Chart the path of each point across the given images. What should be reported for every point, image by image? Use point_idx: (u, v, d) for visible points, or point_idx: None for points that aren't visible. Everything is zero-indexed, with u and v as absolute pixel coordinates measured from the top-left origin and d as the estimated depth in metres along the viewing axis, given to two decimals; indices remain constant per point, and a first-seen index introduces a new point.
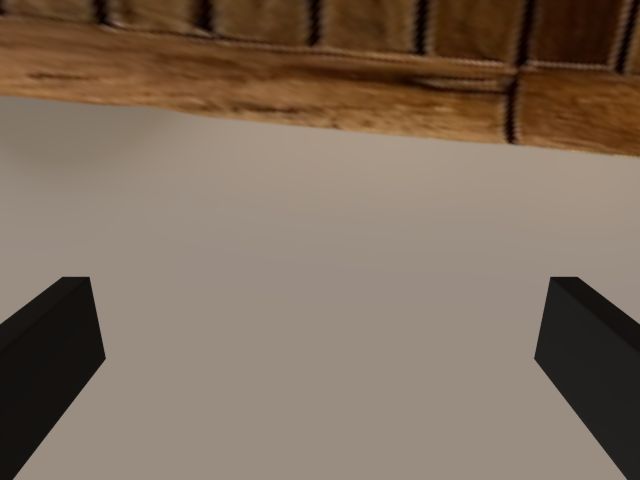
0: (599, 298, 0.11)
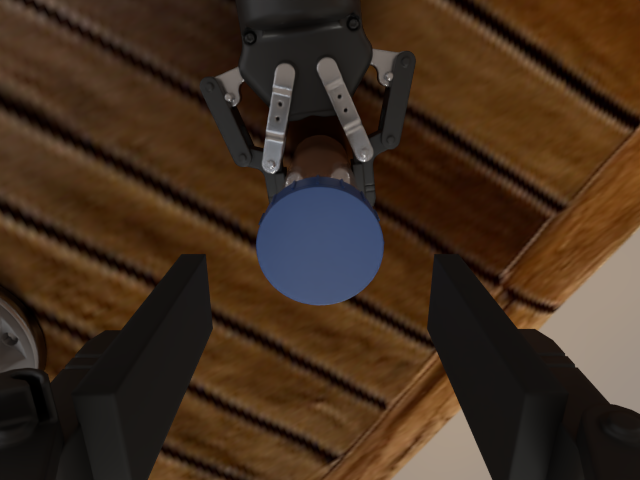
0: (466, 270, 0.13)
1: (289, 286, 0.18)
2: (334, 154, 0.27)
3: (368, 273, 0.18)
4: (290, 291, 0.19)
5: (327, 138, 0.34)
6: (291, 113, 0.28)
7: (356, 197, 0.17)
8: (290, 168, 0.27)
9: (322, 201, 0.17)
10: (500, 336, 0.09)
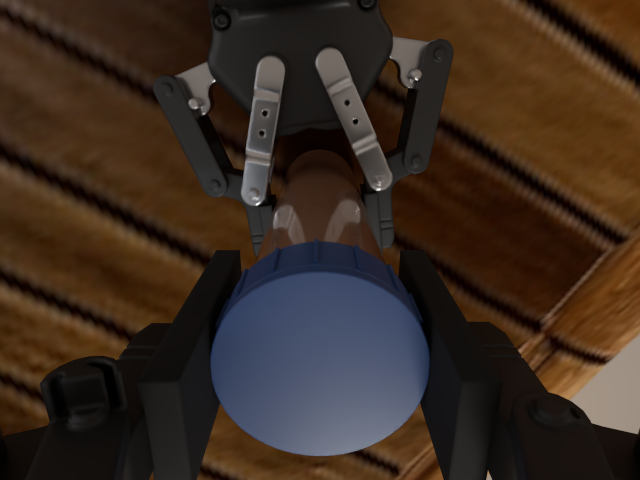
0: (428, 266, 0.13)
1: (268, 428, 0.11)
2: (339, 182, 0.20)
3: (402, 409, 0.11)
4: (270, 436, 0.11)
5: (329, 155, 0.26)
6: (280, 125, 0.20)
7: (385, 289, 0.10)
8: (278, 203, 0.19)
9: (324, 296, 0.10)
10: (448, 328, 0.10)
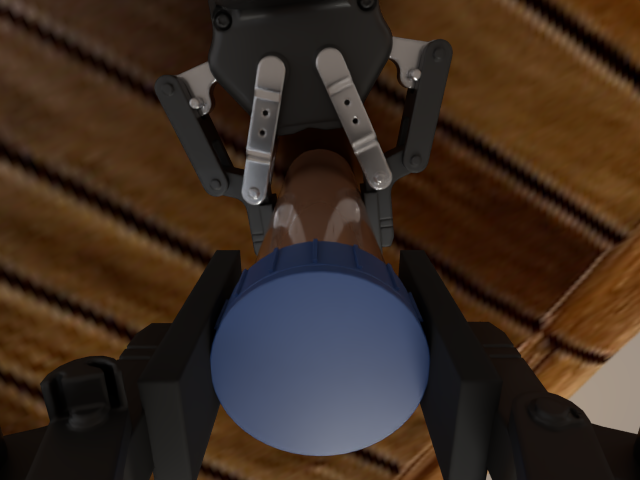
0: (427, 266, 0.13)
1: (389, 414, 0.11)
2: (339, 181, 0.20)
3: (369, 294, 0.10)
4: (399, 414, 0.11)
5: (329, 154, 0.27)
6: (281, 125, 0.20)
7: (224, 318, 0.10)
8: (279, 202, 0.19)
9: (235, 368, 0.10)
10: (448, 328, 0.10)
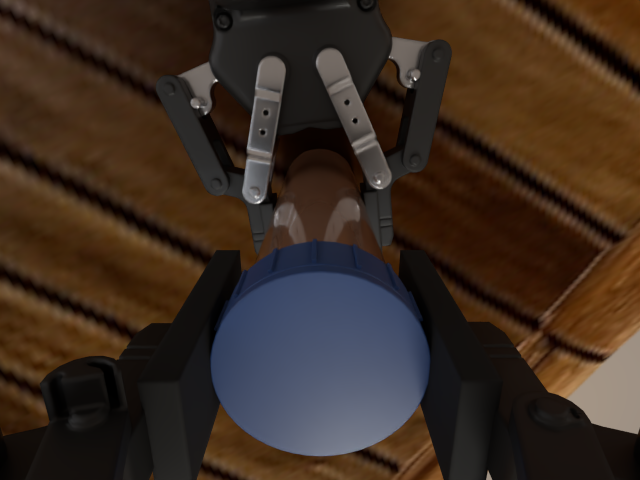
0: (428, 266, 0.13)
1: (376, 307, 0.10)
2: (339, 180, 0.20)
3: (230, 332, 0.10)
4: (375, 298, 0.10)
5: (329, 154, 0.27)
6: (281, 124, 0.21)
7: (265, 442, 0.11)
8: (279, 201, 0.19)
9: (317, 438, 0.11)
10: (448, 328, 0.10)
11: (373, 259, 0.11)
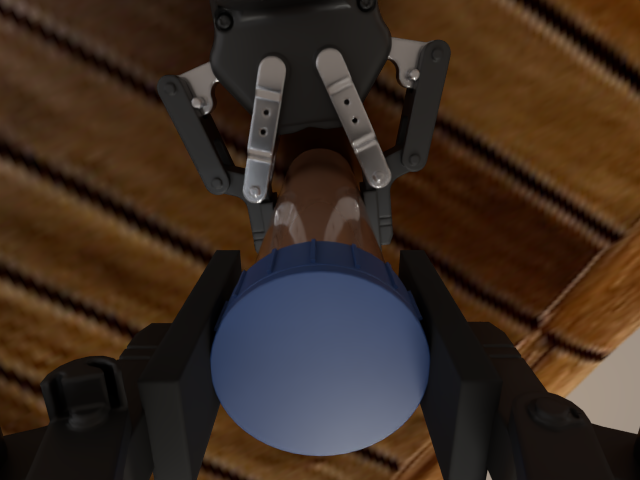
0: (427, 266, 0.13)
1: (243, 326, 0.10)
2: (339, 180, 0.20)
3: (278, 439, 0.11)
4: (233, 328, 0.10)
5: (329, 153, 0.27)
6: (281, 124, 0.21)
7: (408, 416, 0.11)
8: (279, 200, 0.19)
9: (404, 373, 0.10)
10: (448, 328, 0.10)
11: None
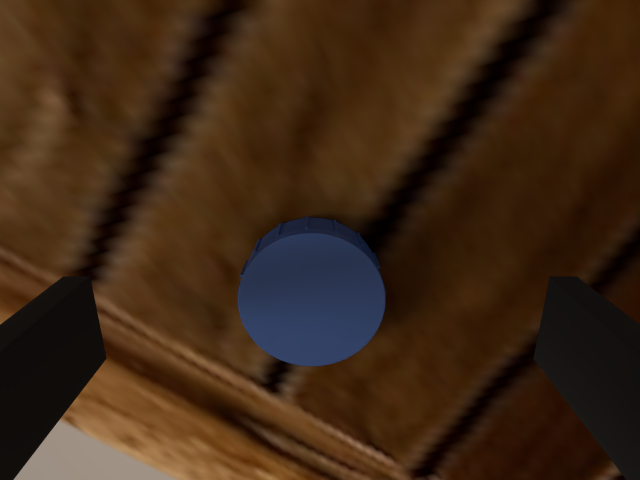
0: (598, 298, 0.11)
1: (260, 271, 0.15)
2: None
3: (283, 353, 0.16)
4: (254, 272, 0.15)
5: None
6: None
7: (372, 336, 0.16)
8: None
9: (368, 304, 0.15)
10: None
11: None
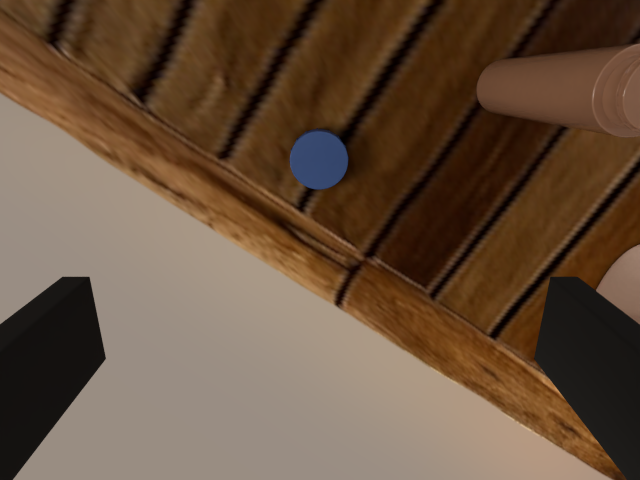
0: (599, 298, 0.11)
1: (299, 147, 0.39)
2: None
3: (307, 183, 0.40)
4: (296, 147, 0.39)
5: None
6: None
7: None
8: None
9: (341, 161, 0.39)
10: None
11: None
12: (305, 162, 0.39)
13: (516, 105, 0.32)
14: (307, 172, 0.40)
